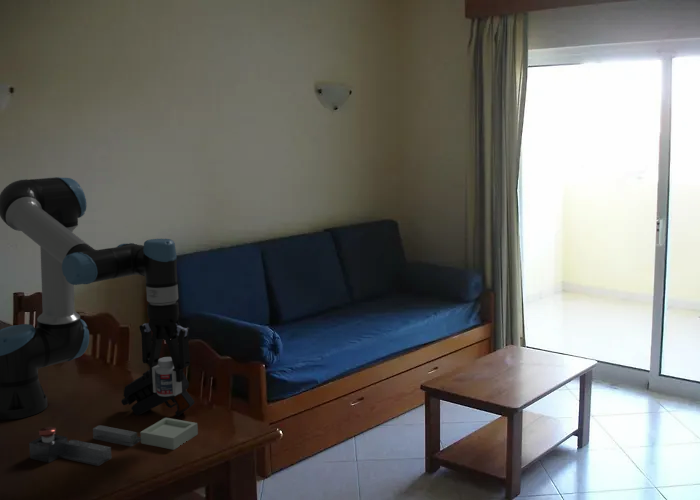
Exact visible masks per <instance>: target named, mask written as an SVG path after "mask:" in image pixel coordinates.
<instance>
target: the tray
mask: <svg viewBox="0 0 700 500" xmlns="http://www.w3.org/2000/svg"><path fill="white" fill-rule="evenodd" d="M198 428H199V427H198V422H194V421H193V422H192V421H187V420H181V419H176V418H170V417H163V418H162V419H161V420H158V421H157V422H155V423H154V424H151V425H150V426H148V427H146V428H145V429H143V430H142V431H140V432H139V434H140V437H141V441H140V443H141V444H142V445H148V446H154V447H158V448H164V449H168V450H172V451H173V450H176V449H177V448H179V447H180V445H181V446H183V445H184V444H185V443H186V441H187V442H188V441H190V440H192V439H193V438H194V437H196V436H197V435H198V434H199V429H198ZM183 443H184V444H183Z"/></svg>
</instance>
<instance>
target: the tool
mask: <svg viewBox="0 0 700 500" xmlns="http://www.w3.org/2000/svg"><path fill="white" fill-rule="evenodd" d="M183 377H184V379H183V381H182V393H180V394H178V395H176V396H174V395H173V396H166V397H165V396H159V395H158V394H157V392H156V393H154V392H153V378H151V376H150V369H148V370H147V371H145V372H143V373H142V375H141V376H139V377H138V378H136V379H134V380H133V381H131V382H130V383H129V384H126V385H125V387H124V390H123V397H124V398H122V399H121V401H120V402H121V404H122V405H123V406H127V405H129V406H130V405H132V404H133V403H134V404H133V405H132V406H131V407H130V408H131V410H132V412H133V414H134V415H136V416H140V415H142V414H144V413H146V412H147V411H150V410H152V409H154V408H155V407H158V406H160V405H162V404H165V405H166V407H168V408H169V409H170V408H172V409H173V408H174V407H175V406H176V408H177V410H176V411H175V412H174V414H175V415H176V416H177V417H180V416H181V415H182V414H183V413H184V412H186V411H187V410H188V409H190V408H191V407H192V406H193V405H194V404H195V399H193V397H192V396H191V395H190V393H189V392H188V391H187V389H189V385H190V383H189V381H188V379H187V378H188V377H186V375H185V373H184V372H183ZM169 401H172V403H173V404H172V405H171V404H170V403H169ZM135 402H136V403H135Z"/></svg>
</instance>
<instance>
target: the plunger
mask: <svg viewBox="0 0 700 500" xmlns="http://www.w3.org/2000/svg"><path fill="white" fill-rule="evenodd" d="M56 433H57V428H56V427H55V426H47V427H42V428H40V429H39V430H38V435H39V436H40V437H42V443H46V444H49V443H51V442H53V441H55V438H54V434H55V435H56Z"/></svg>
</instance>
